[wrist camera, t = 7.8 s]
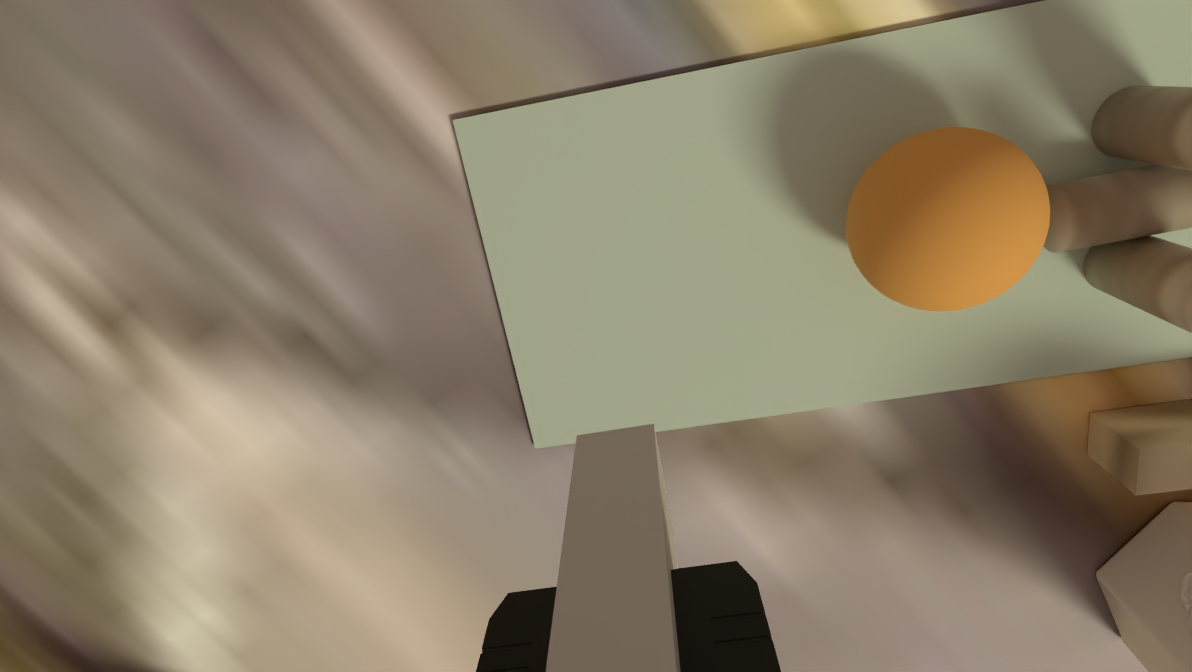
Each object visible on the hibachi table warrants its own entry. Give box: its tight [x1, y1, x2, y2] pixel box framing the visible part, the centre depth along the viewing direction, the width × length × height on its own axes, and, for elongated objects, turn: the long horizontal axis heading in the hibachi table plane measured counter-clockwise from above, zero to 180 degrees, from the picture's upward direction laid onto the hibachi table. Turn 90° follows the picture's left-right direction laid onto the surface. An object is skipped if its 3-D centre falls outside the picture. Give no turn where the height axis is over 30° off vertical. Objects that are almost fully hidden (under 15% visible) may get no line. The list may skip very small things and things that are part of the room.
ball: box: [846, 127, 1050, 311], centre depth 23 cm, size 6×6×6 cm
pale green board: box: [453, 0, 1192, 449], centre depth 26 cm, size 32×14×1 cm, turn 101°
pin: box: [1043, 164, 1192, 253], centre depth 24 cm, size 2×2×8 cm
